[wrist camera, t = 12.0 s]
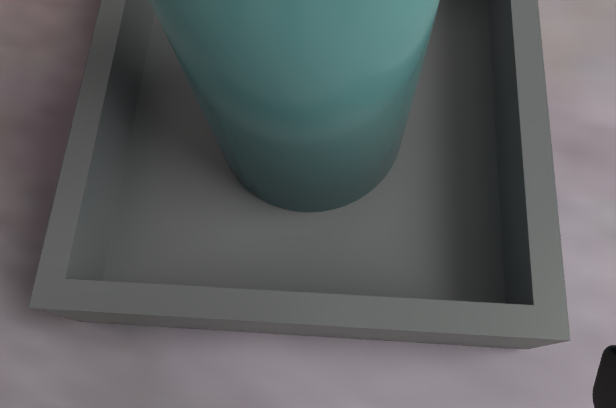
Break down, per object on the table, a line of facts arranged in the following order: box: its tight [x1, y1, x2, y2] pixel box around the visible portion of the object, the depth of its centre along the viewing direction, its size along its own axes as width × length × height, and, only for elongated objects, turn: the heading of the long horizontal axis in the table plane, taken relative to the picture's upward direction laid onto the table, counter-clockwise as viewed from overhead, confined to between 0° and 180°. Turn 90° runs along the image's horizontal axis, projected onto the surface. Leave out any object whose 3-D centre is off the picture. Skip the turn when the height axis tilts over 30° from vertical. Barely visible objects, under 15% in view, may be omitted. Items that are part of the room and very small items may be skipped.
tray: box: [28, 0, 570, 349], centre depth 17 cm, size 14×14×3 cm
